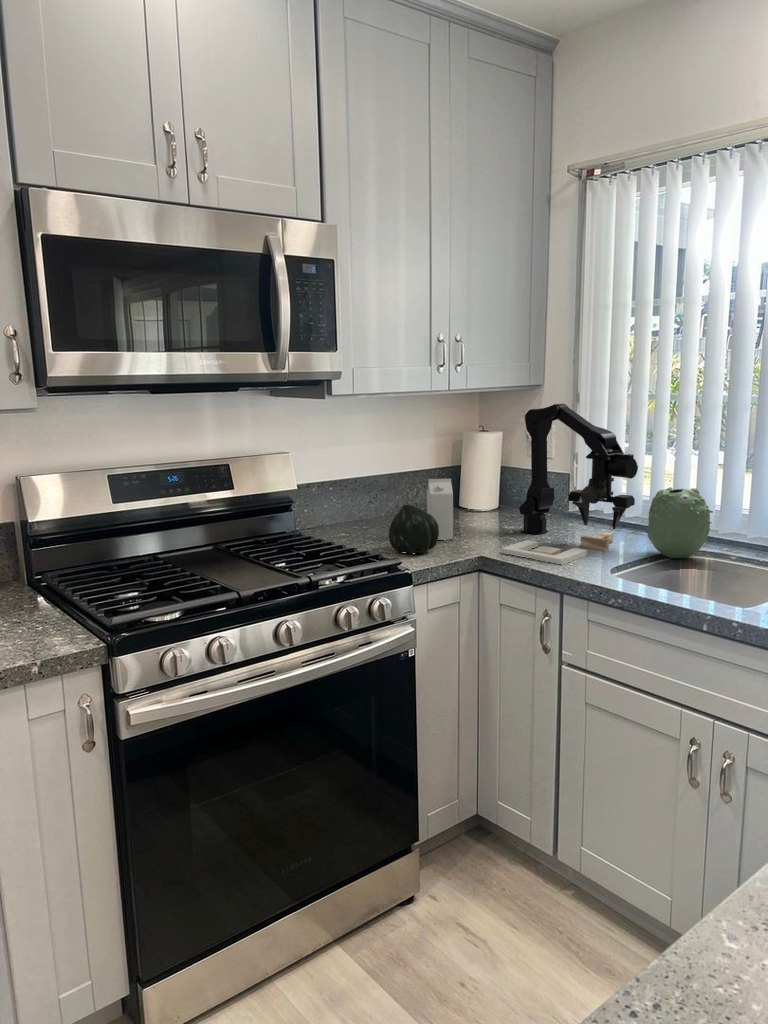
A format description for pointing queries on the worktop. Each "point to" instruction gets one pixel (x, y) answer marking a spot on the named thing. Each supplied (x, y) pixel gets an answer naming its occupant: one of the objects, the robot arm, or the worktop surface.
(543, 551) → the pale beige block
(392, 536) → the squash
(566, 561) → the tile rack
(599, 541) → the wooden pusher
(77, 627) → the worktop surface
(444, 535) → the milk carton
